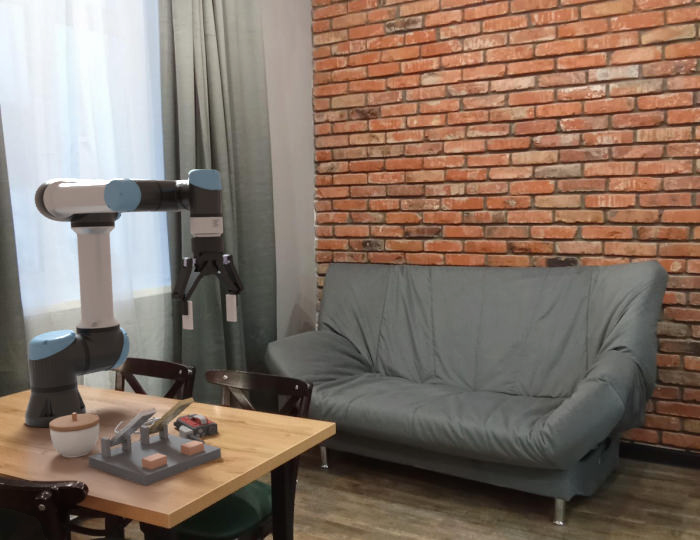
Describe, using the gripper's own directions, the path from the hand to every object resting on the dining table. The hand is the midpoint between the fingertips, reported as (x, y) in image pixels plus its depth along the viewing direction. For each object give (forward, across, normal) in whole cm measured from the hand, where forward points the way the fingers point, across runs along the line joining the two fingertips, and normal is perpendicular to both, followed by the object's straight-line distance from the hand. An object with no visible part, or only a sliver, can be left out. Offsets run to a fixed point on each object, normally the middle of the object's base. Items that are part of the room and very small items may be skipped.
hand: (210, 325), depth 163 cm
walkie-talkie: (+28, 0, +6) cm, 29 cm away
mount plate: (+28, -18, 0) cm, 33 cm away
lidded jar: (+28, -24, +20) cm, 42 cm away
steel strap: (+20, -23, 0) cm, 30 cm away
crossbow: (+28, -2, +24) cm, 38 cm away
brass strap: (+20, -13, 0) cm, 24 cm away
